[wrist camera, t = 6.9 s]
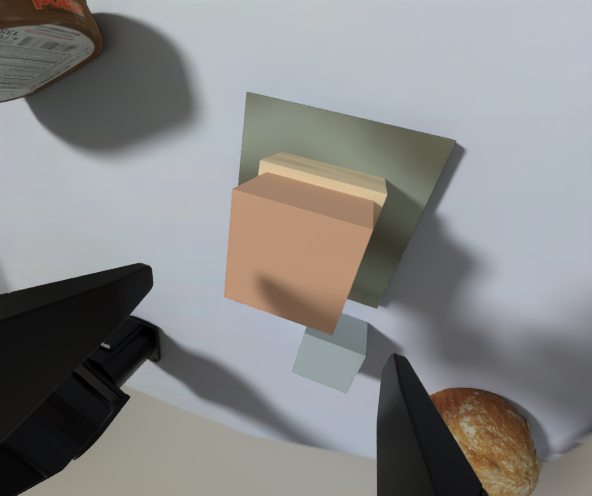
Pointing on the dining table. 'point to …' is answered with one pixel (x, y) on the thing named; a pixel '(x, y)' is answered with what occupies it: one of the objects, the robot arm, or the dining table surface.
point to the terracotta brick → (295, 248)
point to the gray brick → (333, 353)
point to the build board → (359, 153)
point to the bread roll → (491, 439)
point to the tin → (43, 43)
